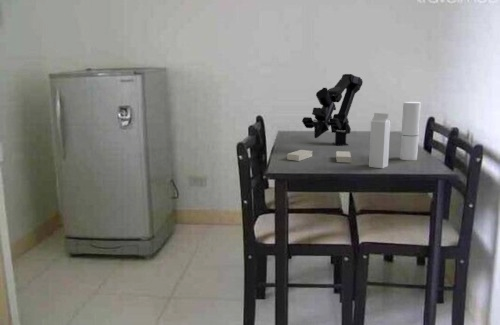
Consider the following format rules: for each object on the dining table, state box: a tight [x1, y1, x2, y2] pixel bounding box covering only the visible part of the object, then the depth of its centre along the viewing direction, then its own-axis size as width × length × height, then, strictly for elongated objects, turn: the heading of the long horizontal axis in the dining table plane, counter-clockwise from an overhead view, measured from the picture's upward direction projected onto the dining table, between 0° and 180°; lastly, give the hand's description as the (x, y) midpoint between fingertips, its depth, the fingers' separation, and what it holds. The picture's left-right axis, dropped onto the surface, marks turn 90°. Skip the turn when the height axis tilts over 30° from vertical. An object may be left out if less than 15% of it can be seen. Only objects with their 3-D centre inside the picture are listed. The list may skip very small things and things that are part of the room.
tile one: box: [335, 150, 352, 164], centre depth 207 cm, size 3×6×12 cm
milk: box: [368, 112, 391, 169], centre depth 192 cm, size 6×6×22 cm
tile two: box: [286, 149, 313, 162], centre depth 211 cm, size 3×6×12 cm
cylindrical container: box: [399, 101, 422, 161], centre depth 206 cm, size 7×7×25 cm
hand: (315, 137), depth 221 cm, fingers closed
